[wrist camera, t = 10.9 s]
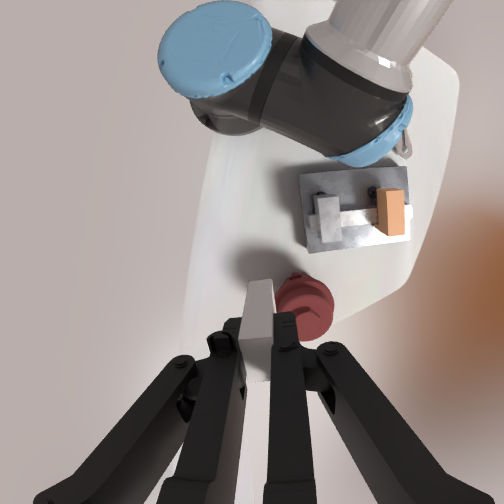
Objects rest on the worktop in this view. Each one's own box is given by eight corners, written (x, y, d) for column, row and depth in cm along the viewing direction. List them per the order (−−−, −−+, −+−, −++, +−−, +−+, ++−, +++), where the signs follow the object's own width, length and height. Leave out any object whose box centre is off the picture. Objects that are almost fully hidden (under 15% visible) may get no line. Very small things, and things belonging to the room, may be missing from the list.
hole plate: (297, 174, 45) (299, 175, 42) (399, 166, 43) (406, 166, 40) (306, 248, 48) (308, 253, 45) (402, 235, 46) (409, 239, 43)
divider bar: (305, 195, 43) (310, 199, 37) (405, 185, 41) (422, 189, 35) (309, 234, 44) (315, 244, 39) (407, 222, 43) (423, 229, 37)
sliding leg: (372, 187, 41) (386, 191, 35) (387, 186, 41) (403, 189, 35) (374, 228, 43) (388, 237, 37) (390, 226, 43) (405, 234, 37)
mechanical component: (281, 317, 53) (265, 272, 50) (330, 302, 51) (318, 255, 49) (283, 356, 41) (263, 304, 38) (345, 338, 40) (332, 283, 37)
